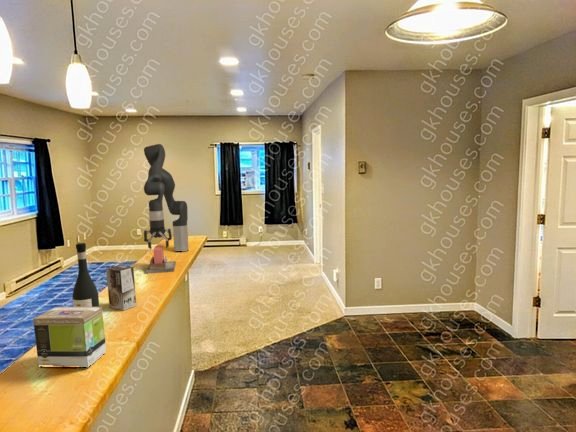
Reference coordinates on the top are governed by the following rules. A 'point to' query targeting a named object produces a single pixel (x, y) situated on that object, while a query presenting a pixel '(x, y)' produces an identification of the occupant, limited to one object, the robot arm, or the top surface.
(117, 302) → the coffee box
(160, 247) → the book
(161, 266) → the book rack
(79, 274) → the wine bottle
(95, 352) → the tea box
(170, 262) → the bookend
